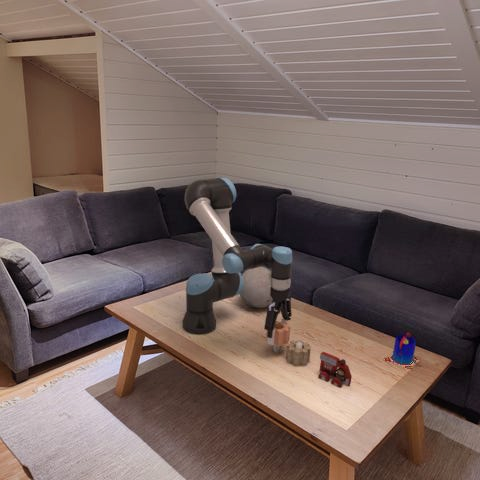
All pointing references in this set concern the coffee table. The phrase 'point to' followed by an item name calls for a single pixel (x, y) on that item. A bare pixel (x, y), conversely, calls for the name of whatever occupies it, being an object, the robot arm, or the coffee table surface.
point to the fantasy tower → (403, 350)
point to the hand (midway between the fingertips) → (277, 339)
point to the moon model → (256, 287)
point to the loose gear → (281, 333)
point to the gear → (298, 353)
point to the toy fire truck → (334, 370)
